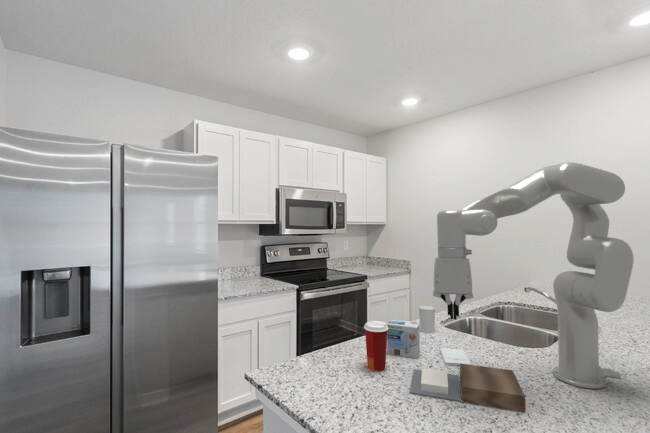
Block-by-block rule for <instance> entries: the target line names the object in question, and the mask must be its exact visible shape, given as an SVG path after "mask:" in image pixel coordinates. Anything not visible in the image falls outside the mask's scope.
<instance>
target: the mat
mask: <svg viewBox="0 0 650 433" xmlns="http://www.w3.org/2000/svg"><path fill="white" fill-rule="evenodd" d="M421 377H422V369H416V368H414V369H413V372H412V376H411V381H410V382H411V383H410V387H409V394H410V395H416V396H421V397H428V398H434V399H439V400H447V401H452V402H457V403H462V394H461V389H460V386H461V385H460V380H459V378H460V376H459V375H458V374H451V373H447V379H448V395H446V394H440V393H433V392H426V391H421Z"/></svg>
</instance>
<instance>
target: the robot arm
mask: <svg viewBox="0 0 650 433" xmlns="http://www.w3.org/2000/svg"><path fill="white" fill-rule="evenodd" d="M625 193H626V186H625V182H624V180H623V179H622V178H621V176H619V175H618V174H616V173H614V172H611V171H608V170H603V169H602V168H597V167H594V166H591V165H586V164H582V163H578V162H568V161H566V162H563V163H562V162H561V163H558V164H552V165H548V166H546V167H542V168H540V169H538V170H536V171H534V172H532V173H530V174H529V175H527V176H525V177H524V178H521V179H519V180H518V181H516V182H515V183H512V184H511V185H509V186H507V187H505V188H503V189H501V190H498V191H496V192H494V193H492V194H490V195H488V196H485V197H483V198H481V199H479V200H476V201H475V202H473V203H471V204H469V205H466V207H463V208H462V209H461V210H459V209H458V210H455V209H453V210H451V209H449V210H440V211H439V212H437V216H436V229H437V257H435V258H434V267H433V293H432V295H433V297H435V298H438V299H441V300H443V302H445V303H446V305H447V316H450V317H449V318H450V320H457V319H458V318H457V317H459V316H460V305H461V303H463V302H464V301H465V300H470V299H473V298H474V293H473V279H472V277H473V276H472V270H471V269H472V268H471V263H470V258H468V257H467V256H469V255H472V249H468V248H467V241H466V240H467V239H466V235H467V236H477V237H478V236H481V237H482V236H487V235H490V234H491V233H493V232H494V231H495V230H496V229H497V227H498V219H500V218H506V217H511V216H514V215H519V214H521V213H525V212H527V211H529V210H530V209H532V208H533V207H535V206H537V205H539V204H541V203H543V201H546V200H547V199H549V198H551V197H553V196H555V195H560V196H559V197H560V198H561V200H562V201H563V202H564V204H565V205H566V206H567V207H568V209H569V211H570V212H571V214H572V219H573V222H572V228H571V233H570V237H569V240H568V245H567V250H566V259H567V261H568V262H569V264H571V265H573V266H574V267H578V268H582V269H586V270H594V274H593V273H589V272H582V271H577V270H576V271H575V270H567V271H562V272H560V273H559V274H558V275H556V276H555V278H554V280H553V286H552V287H553V293H554V294H553V295H554V297H555V301H556V307H557V337H558V338H557V341H558V342H557V344H558V346H557V347H558V349H557V351H558V365H557V366H555V367H553V368H552V374H553V376H554V377H555V378H556V379H558V380H559V381H562V382H564V383H565V384H569V385H572V386H574V387H579V388H583V389H592V390H593V389H595V390H596V389H597V390H598V389H604V388H605V387H607V380H606V379H609V378H611V379H615V380H621V379H622V376H621V372H620V371H614V370H613V371H612V370H611V368H606V367H601V366H600V363H599V362H600V360H599V356H600V355H599V354H600V352H599V321H598V316H597V313H596V311H599V312H604V313H605V312H606V313H612V312H615V311H618V310H620V308H621V307H622V306H623V305H624V303H625V300H626V297H627V294H628V289H629V285H630V281H631V275H632V271H633V268H634V260H635V258H634V253H633V250H632V248H631V246H630V245H629V244H628V243H627V242H626V240H625V241H624V240H622V239H620V238H616V237H608V235H609V229H610V219H609V216H608V214H607V212H606V211H605V209H604V208H603V207H602V205H607V204H612V203H615V202H618V201H619V200H620V199H621V198H622V197H624V194H625ZM451 295H455V299H454V301H452V300H451Z"/></svg>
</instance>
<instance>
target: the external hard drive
mask: <svg viewBox="0 0 650 433" xmlns="http://www.w3.org/2000/svg"><path fill="white" fill-rule="evenodd" d="M439 352H440V355H441V357H442V360H443V363H444V365H445V366H450V367H460V364H468V365H473V364H472V362H471V361H470V358H469V357H468V355H467V353H466V352H465V350H464V349H457V348H445V347H441V348H439Z"/></svg>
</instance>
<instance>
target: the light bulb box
mask: <svg viewBox="0 0 650 433" xmlns="http://www.w3.org/2000/svg"><path fill="white" fill-rule="evenodd" d="M386 324H387V327H388V330H387V347H386V355H391V356H396V357H397V356H398V357H404V358H409V359H414V360H415V359H416V360H418V357H419V354H420V349H421V348H420V344H421V343H420V333H421V331H420V321H408V320H399V319H392V318H391V319H390V320H389V322H388V323H386Z"/></svg>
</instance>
